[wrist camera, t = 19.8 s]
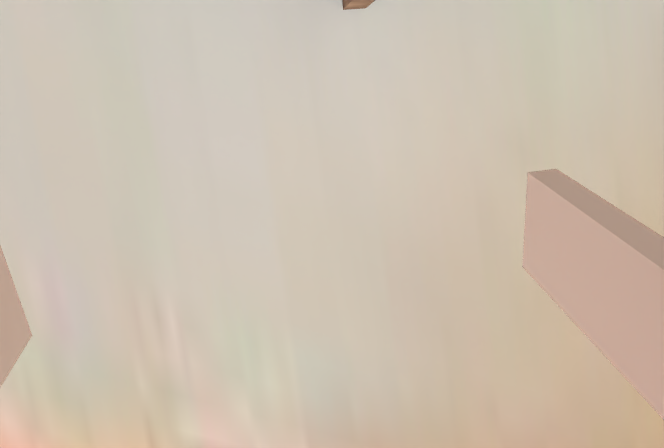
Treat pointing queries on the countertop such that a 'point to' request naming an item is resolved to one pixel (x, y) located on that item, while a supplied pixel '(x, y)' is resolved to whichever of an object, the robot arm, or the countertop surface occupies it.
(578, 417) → the countertop surface
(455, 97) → the countertop surface
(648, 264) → the robot arm
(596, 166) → the countertop surface
